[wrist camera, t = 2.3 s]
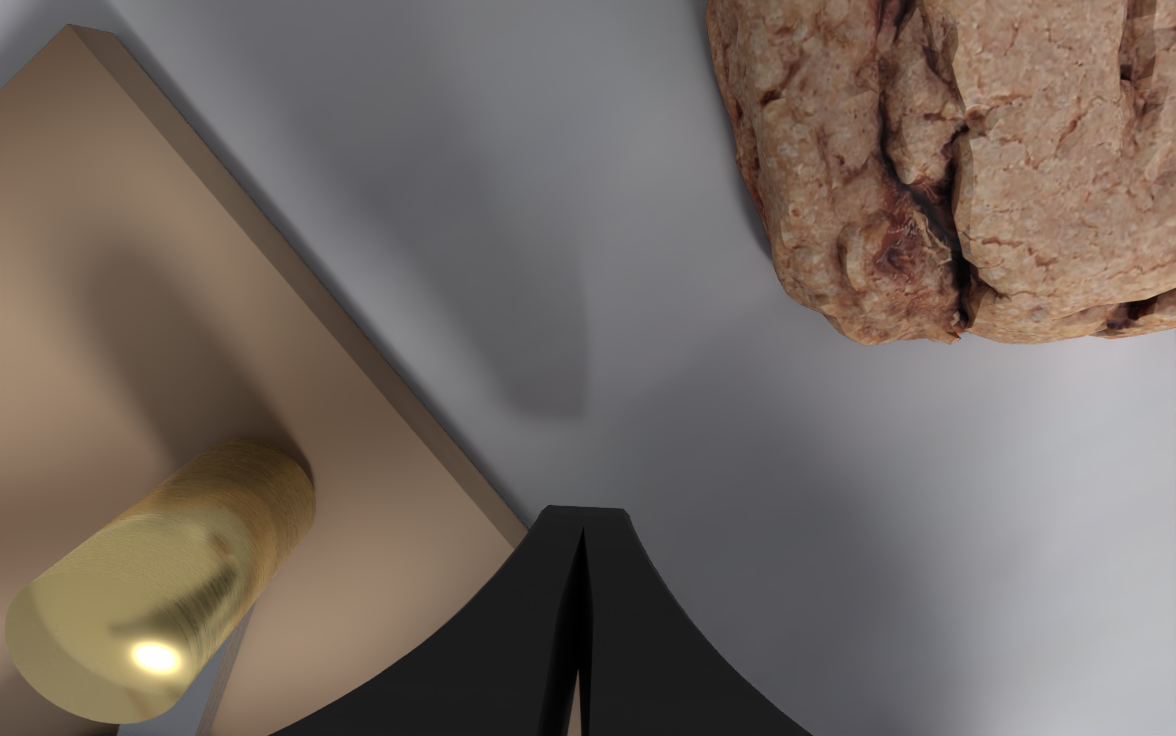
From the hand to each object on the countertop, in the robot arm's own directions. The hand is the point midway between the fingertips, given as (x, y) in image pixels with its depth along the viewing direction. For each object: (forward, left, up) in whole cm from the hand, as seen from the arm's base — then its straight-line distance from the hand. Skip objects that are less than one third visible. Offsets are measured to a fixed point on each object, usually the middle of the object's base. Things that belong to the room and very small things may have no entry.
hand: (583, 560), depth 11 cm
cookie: (+2, -10, -3) cm, 11 cm away
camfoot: (+1, +9, -1) cm, 10 cm away
